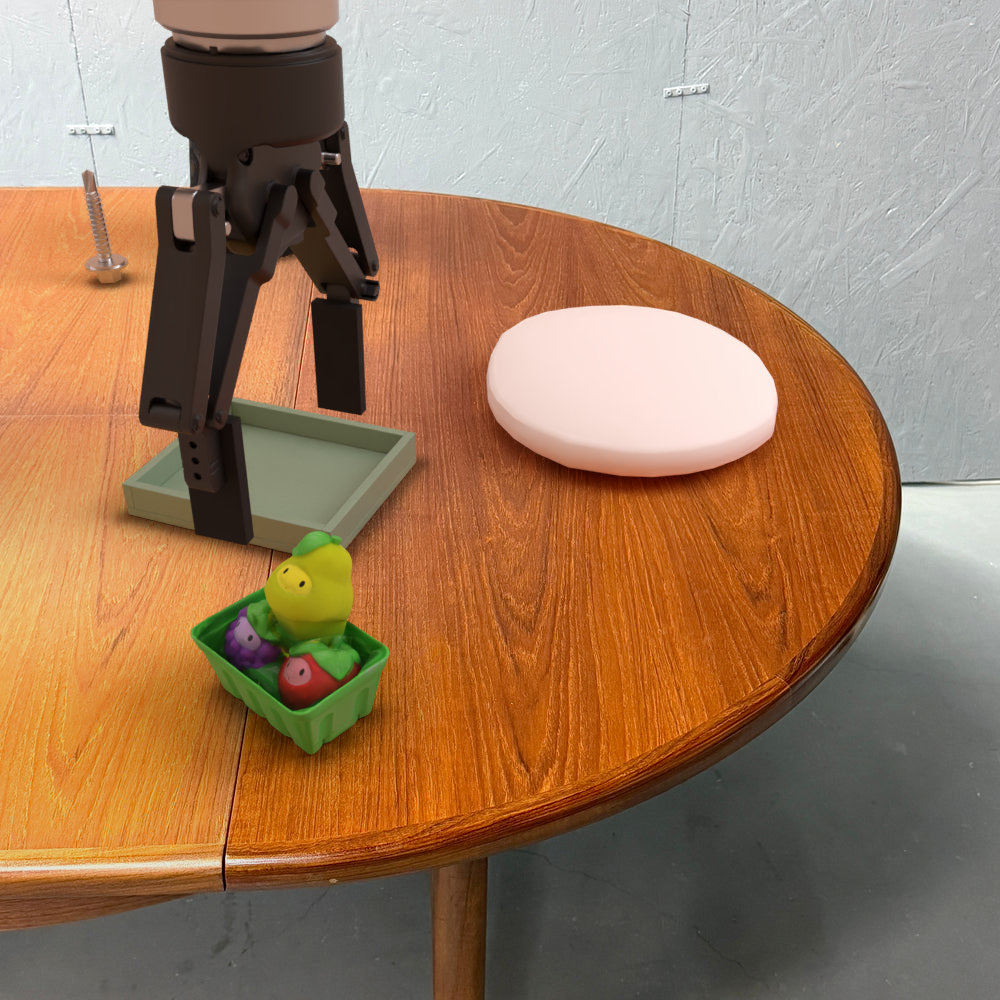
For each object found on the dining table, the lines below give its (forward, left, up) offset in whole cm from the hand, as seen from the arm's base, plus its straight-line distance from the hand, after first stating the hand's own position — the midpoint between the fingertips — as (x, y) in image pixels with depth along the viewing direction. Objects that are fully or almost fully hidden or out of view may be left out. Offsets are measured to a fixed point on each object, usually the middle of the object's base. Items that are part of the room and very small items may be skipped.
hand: (289, 466), depth 57 cm
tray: (-17, +23, -20) cm, 35 cm away
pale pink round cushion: (+7, +46, -20) cm, 51 cm away
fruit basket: (-3, +2, -20) cm, 20 cm away
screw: (-58, +55, -20) cm, 82 cm away
